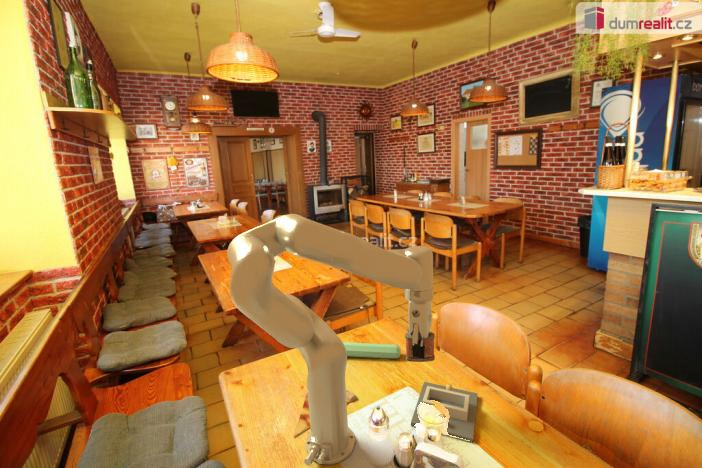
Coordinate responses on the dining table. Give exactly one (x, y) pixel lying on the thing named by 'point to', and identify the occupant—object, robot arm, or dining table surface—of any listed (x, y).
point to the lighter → (428, 348)
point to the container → (372, 350)
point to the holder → (451, 408)
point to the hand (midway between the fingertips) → (420, 351)
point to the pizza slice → (305, 417)
